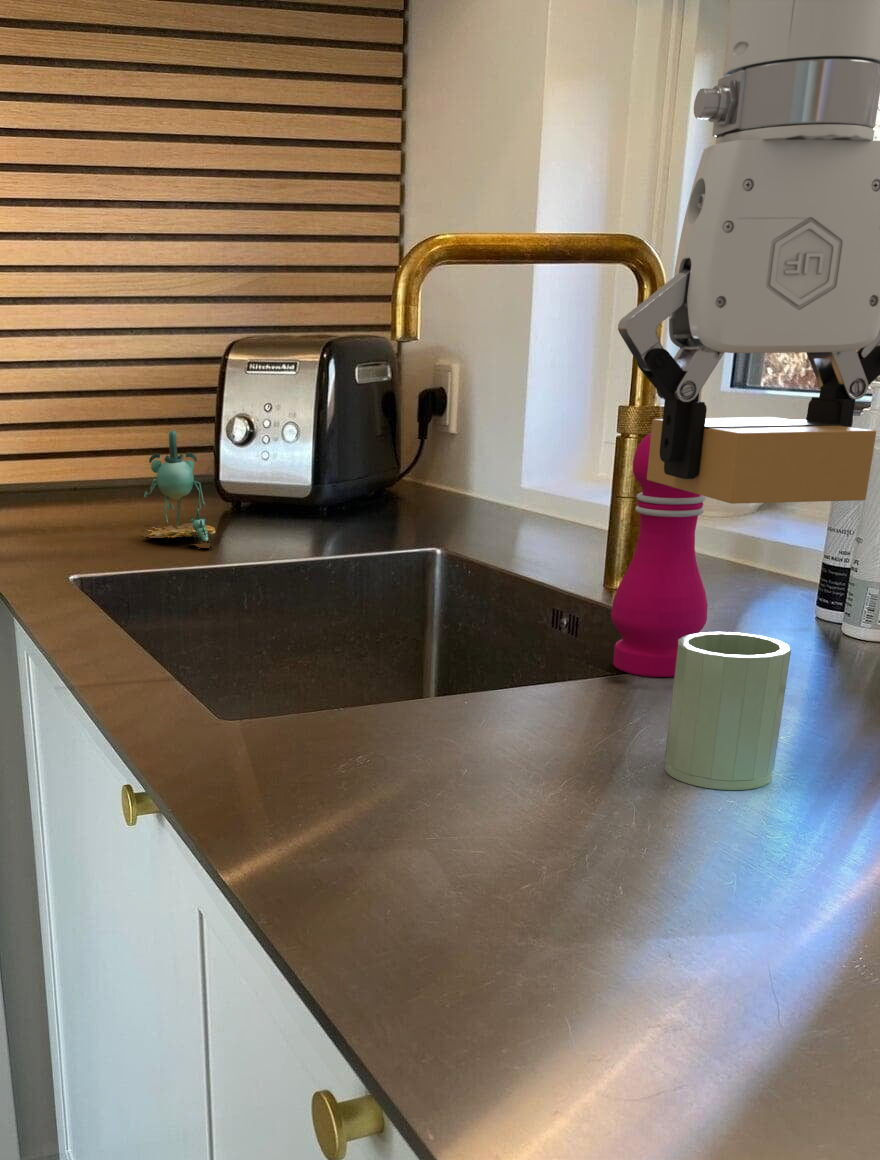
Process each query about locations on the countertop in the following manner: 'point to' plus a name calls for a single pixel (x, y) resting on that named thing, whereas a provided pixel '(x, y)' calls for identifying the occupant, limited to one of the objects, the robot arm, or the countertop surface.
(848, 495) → the packet
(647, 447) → the pepper mill
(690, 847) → the countertop surface
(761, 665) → the cup
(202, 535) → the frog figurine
